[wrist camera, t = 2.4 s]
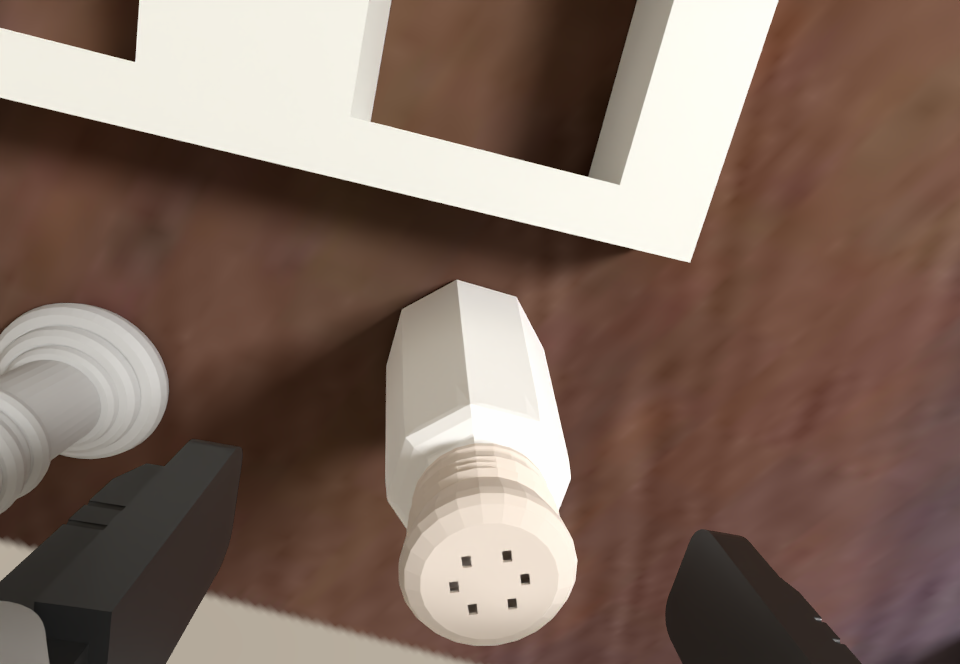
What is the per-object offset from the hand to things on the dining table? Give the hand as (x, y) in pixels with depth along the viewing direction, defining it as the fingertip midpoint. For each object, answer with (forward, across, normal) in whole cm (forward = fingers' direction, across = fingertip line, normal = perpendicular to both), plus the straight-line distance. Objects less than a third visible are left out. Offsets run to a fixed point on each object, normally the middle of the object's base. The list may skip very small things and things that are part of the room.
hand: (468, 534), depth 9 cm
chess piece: (+10, +12, +3) cm, 16 cm away
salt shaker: (+10, 0, 0) cm, 10 cm away
